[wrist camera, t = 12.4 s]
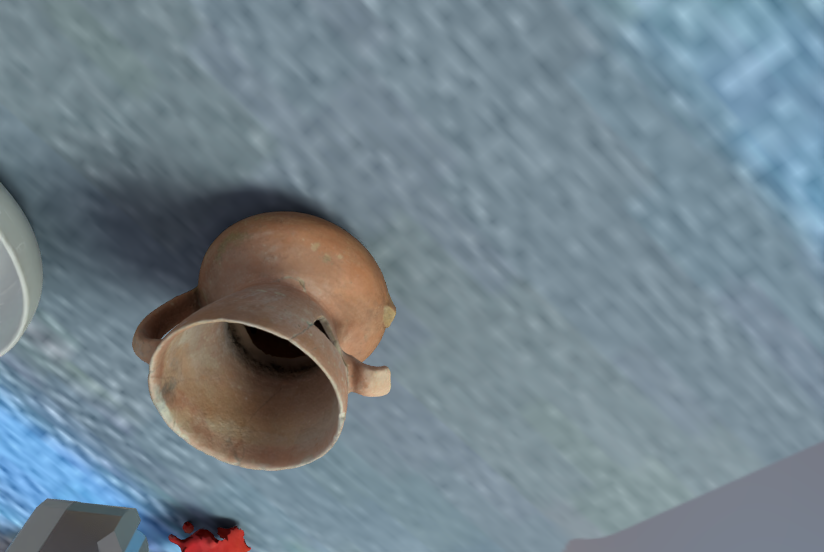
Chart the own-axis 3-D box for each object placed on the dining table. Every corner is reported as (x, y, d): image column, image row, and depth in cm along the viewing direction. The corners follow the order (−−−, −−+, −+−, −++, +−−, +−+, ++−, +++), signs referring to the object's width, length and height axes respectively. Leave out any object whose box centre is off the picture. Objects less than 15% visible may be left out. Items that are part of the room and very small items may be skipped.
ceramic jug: (419, 211, 45) (391, 330, 34) (402, 362, 53) (375, 502, 41) (178, 179, 46) (68, 283, 34) (196, 332, 54) (112, 461, 42)
